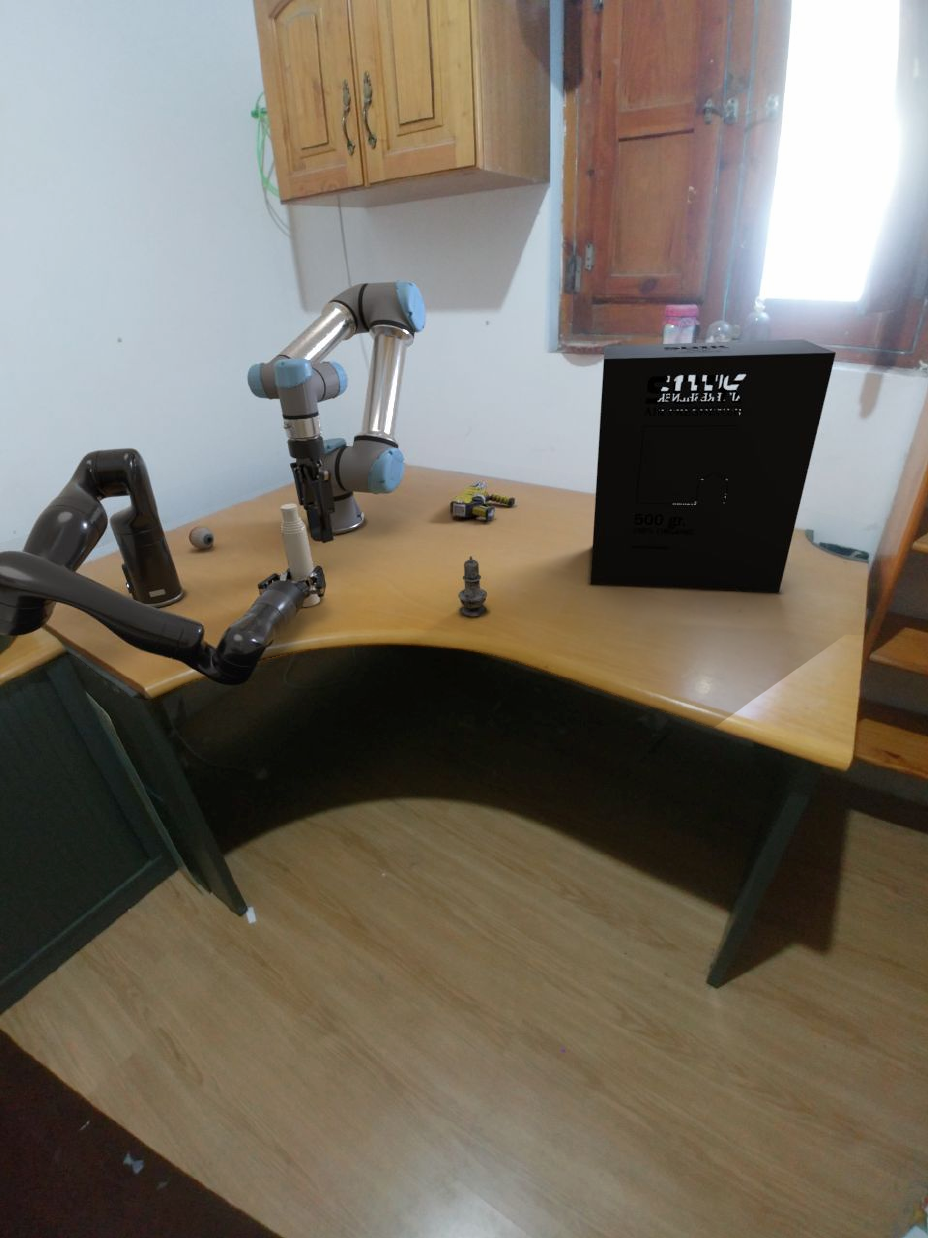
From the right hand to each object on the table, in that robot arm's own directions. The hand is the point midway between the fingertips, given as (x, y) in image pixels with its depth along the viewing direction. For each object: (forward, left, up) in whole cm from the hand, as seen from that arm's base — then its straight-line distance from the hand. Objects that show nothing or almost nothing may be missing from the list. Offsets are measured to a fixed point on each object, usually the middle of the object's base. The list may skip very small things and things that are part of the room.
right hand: (322, 538), depth 141 cm
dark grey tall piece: (+40, +14, -8) cm, 43 cm away
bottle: (+13, -11, -8) cm, 18 cm away
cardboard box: (+55, +60, -8) cm, 82 cm away
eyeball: (-34, -19, -8) cm, 40 cm away
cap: (0, 0, +2) cm, 2 cm away
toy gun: (-6, +54, -8) cm, 55 cm away
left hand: (+11, -9, -1) cm, 14 cm away
